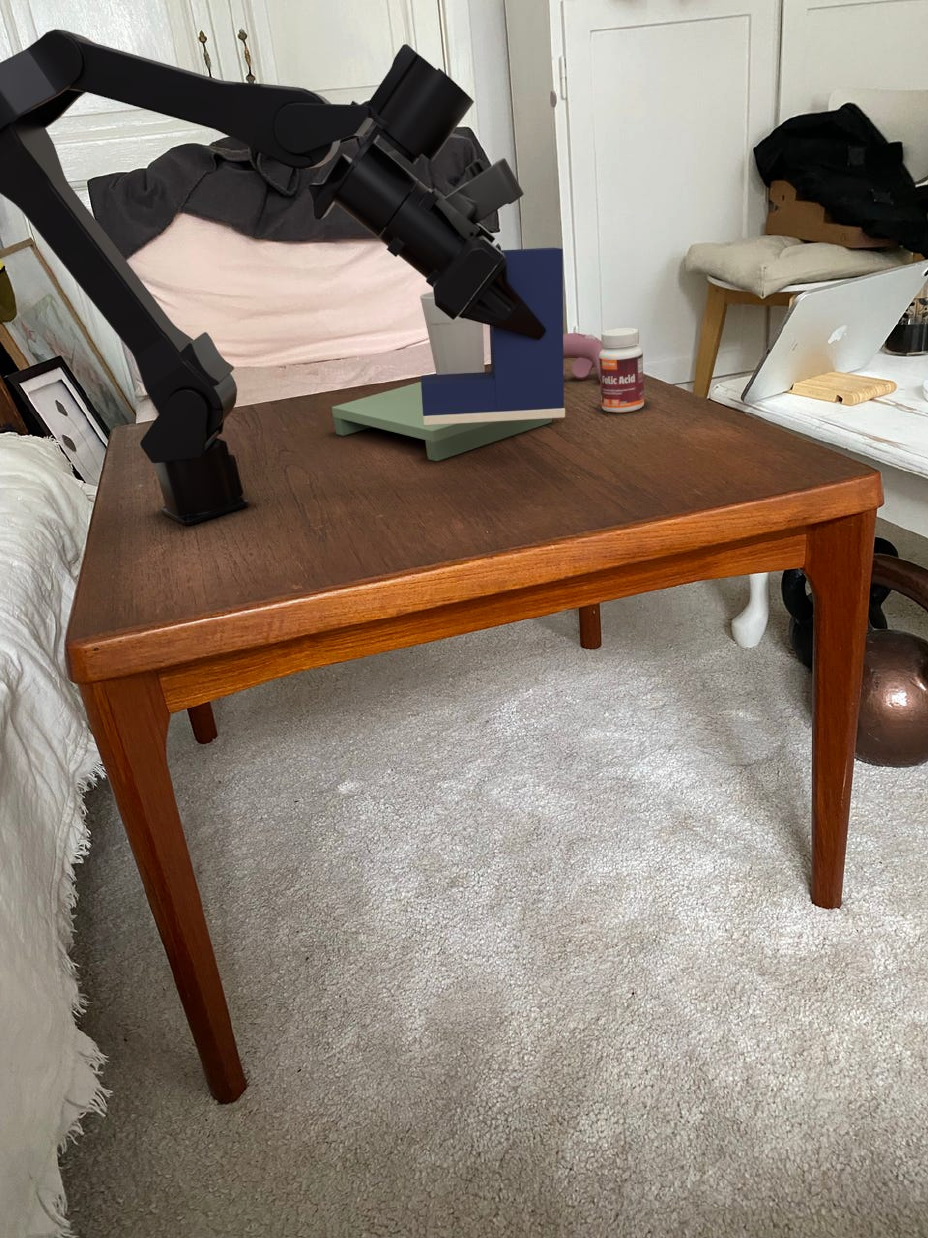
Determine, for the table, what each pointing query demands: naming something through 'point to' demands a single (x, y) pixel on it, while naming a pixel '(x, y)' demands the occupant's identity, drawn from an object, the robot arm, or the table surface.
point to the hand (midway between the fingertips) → (540, 329)
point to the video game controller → (582, 353)
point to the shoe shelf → (406, 417)
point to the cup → (453, 340)
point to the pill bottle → (621, 371)
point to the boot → (511, 356)
